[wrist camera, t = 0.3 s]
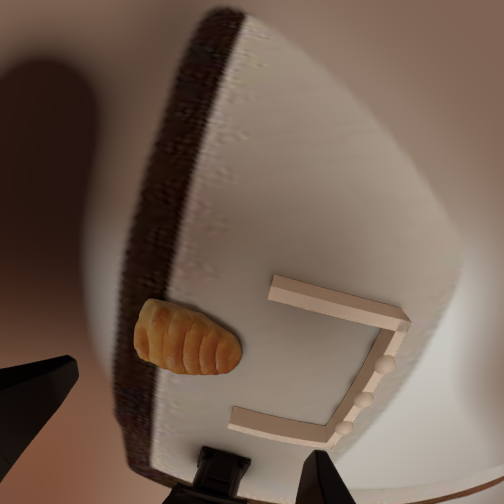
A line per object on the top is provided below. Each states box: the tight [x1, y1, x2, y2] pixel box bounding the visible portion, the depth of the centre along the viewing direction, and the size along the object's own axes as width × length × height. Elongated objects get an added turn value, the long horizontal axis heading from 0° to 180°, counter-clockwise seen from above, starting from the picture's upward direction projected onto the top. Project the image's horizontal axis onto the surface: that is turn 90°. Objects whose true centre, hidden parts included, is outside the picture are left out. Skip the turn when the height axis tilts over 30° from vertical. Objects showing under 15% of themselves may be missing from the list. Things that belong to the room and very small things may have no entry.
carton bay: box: [227, 274, 411, 449], centre depth 21 cm, size 16×11×3 cm
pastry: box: [134, 299, 242, 375], centre depth 22 cm, size 9×7×4 cm
